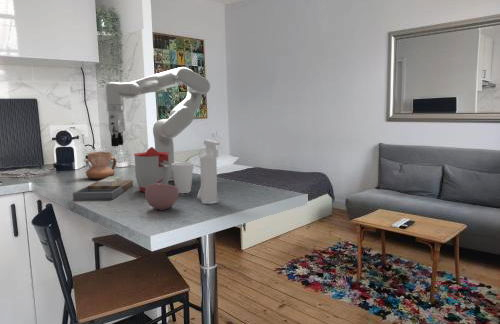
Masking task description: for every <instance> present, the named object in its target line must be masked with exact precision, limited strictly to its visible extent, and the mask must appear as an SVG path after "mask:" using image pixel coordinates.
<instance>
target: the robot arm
mask: <svg viewBox="0 0 500 324" xmlns="http://www.w3.org/2000/svg"><path fill="white" fill-rule="evenodd" d="M180 85H184V86H186V88H187V94H186V97H185V98H184V99H183V100H182V101H181V102H180V103H178V104H177V105H176V106H175V107H174V108H172V109H171V110H170V113H169V117H168V118H167V119H164V118H162V119H159V120H156V122H155V123H154V124H153V127H152V134H153V140H154V141H153V142H154V149H155V150H156V151H157V152H167V153H169V163H170V166H169V181H168V182H174V177H173V171H172V163H175V152H174V149H175V147H174V138H176V137H177V136H179V135H180V134H181V133H183V131H185V129H186V128H187V127H189V126H190V125H191V124H192V123H193V121H194V119H195V118H194V117H195V115H194V113H195V112H196V111H198V109H199V108H200V106H201V104H202V100H203V99H202V95H206V94H207V93H208V92H209V91H210V89H211V84H210V82H209V80H208V79H207V78H205V77H204V76H202V75H201V74H199V73H196V72H195V71H194V70H192V69H189V68H188V67H185V66H181V67H177V68H172V69H169V70H165V71H162V72H159V73H154V74H151V75H148V76H147V77H143V78H140V79H137V80H132V81H129V82H118V81H117V82H113V81H112V82H106V84H105V95H106V109H107V113H108V131H109V133H110V139H111V140H110V141H111V143H110V144H111V147H119V146H123V145H124V135H123V134H124V132H125V131H126V125H125V124H126V122H125V116H124V115H125V114H124V112H125V110H124V109H125V106H124V99H134V98H137V97H139V96H142V95H146V94H149V93H156V92H161V91H163V90H168V89H171V88H173V87H177V86H180Z"/></svg>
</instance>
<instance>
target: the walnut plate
mask: <svg viewBox="0 0 500 324" xmlns="http://www.w3.org/2000/svg"><path fill="white" fill-rule="evenodd" d="M101 180H102V179H98V180H97V181H95V182H93V183H91V184H89V185H87V186H86V187H88V189H117V188H119V187H120V186H122V189H123V193H122V194H124V193H125V192H127V191H128V190H129V189H131V188H133V187H134V180H133V179H129V180H127V179H122V181H120V182H118V183H117V184H115V185H113V186H99V181H101Z"/></svg>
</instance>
